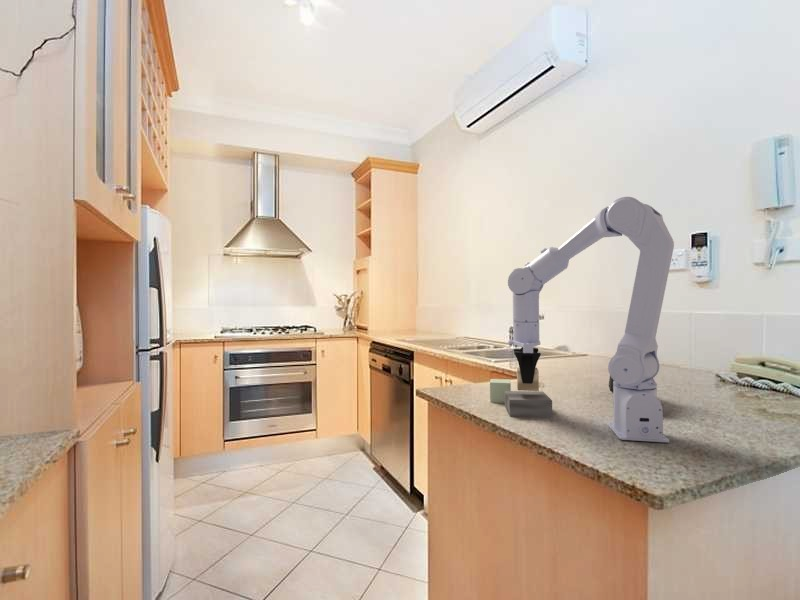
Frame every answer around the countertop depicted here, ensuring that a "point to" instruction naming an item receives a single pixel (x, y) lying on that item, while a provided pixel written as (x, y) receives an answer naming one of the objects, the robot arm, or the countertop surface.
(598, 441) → the countertop surface
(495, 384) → the sage cube
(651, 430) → the robot arm
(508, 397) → the charcoal slab
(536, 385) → the birch cube
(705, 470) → the countertop surface
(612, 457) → the countertop surface
